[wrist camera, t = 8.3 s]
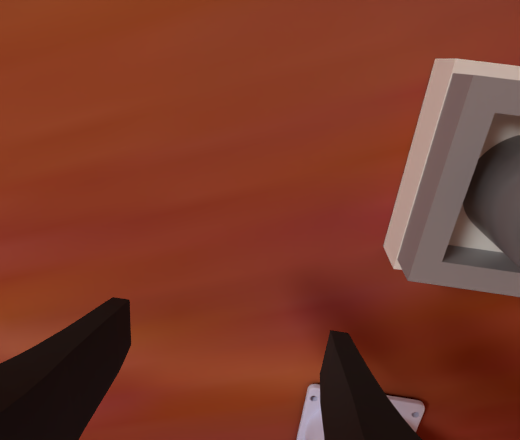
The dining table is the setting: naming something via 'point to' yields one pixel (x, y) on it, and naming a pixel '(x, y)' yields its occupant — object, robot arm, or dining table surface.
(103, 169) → the dining table surface
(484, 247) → the grey square tray
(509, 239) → the gray domed cylinder
